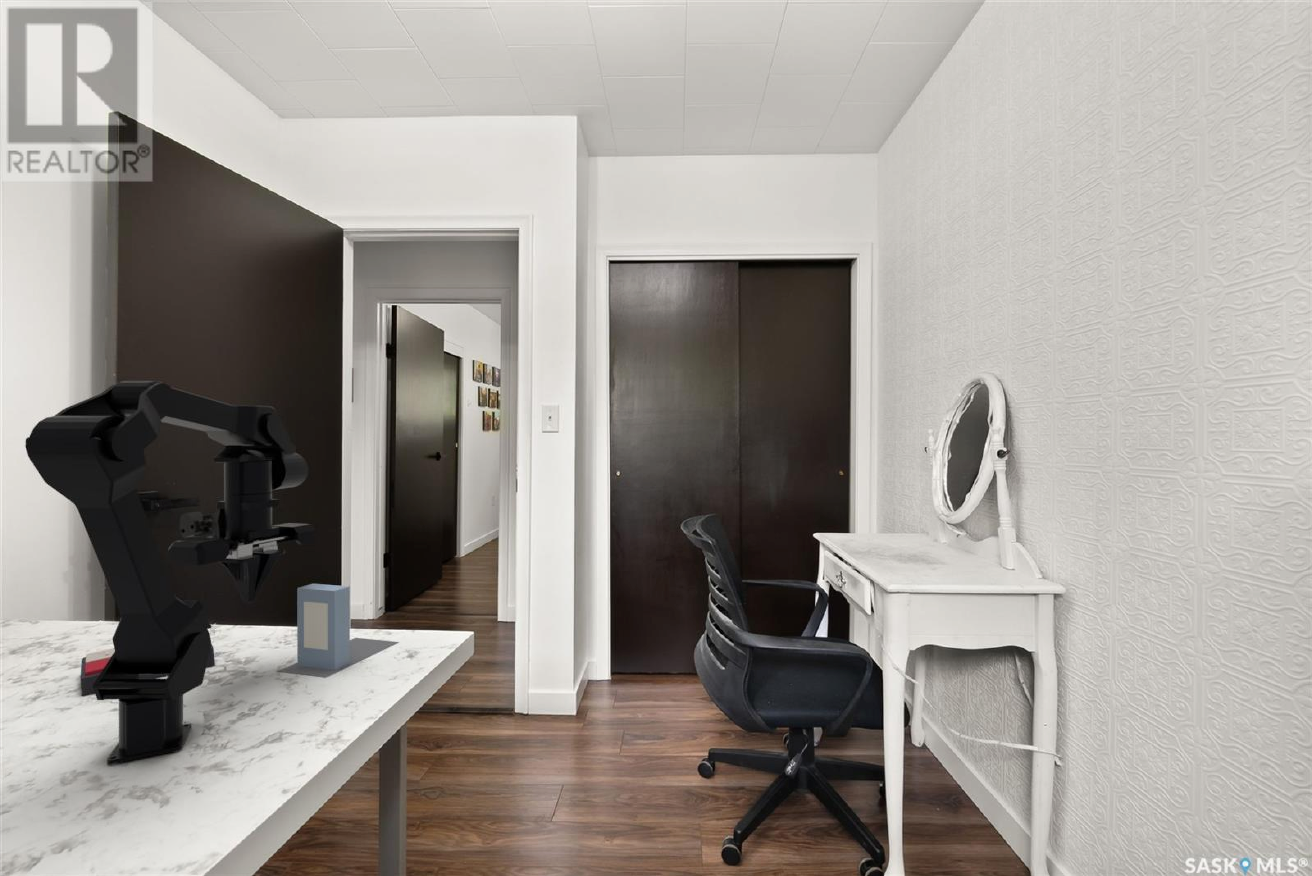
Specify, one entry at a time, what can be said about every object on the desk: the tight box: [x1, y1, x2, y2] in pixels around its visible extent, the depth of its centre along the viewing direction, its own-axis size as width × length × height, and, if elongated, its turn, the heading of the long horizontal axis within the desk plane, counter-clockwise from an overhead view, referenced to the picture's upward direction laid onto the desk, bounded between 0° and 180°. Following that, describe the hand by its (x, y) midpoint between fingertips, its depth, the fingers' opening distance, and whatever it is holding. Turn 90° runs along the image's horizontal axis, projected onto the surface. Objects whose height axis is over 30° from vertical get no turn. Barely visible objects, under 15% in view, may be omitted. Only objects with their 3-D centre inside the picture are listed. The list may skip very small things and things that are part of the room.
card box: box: [296, 583, 351, 670], centre depth 94 cm, size 3×7×12 cm, turn 75°
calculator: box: [80, 643, 216, 697], centre depth 93 cm, size 11×4×15 cm
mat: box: [276, 637, 400, 679], centre depth 98 cm, size 16×9×1 cm, turn 165°
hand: (248, 602), depth 87 cm, fingers closed
